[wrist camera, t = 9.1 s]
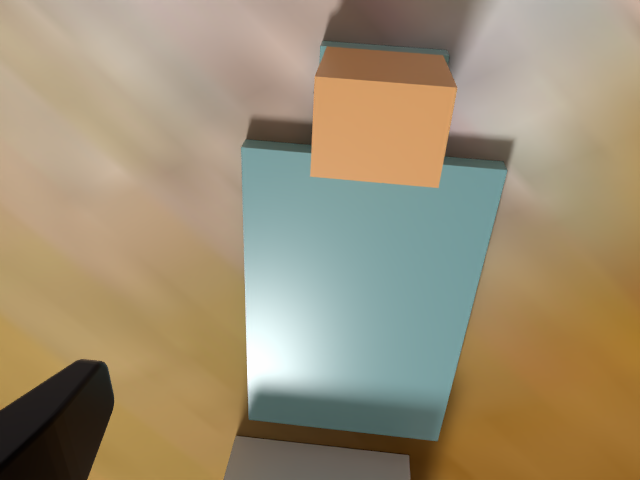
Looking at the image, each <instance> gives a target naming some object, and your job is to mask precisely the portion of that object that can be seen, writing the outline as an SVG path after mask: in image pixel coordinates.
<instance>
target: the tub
mask: <svg viewBox="0 0 640 480" xmlns="http://www.w3.org/2000/svg"><path fill="white" fill-rule="evenodd" d="M224 480H410V463H409V455H403V454H394V453H385V452H376V451H367V450H358V449H349V448H340V447H331V446H322V445H313V444H304V443H295V442H286V441H277V440H268V439H260V438H251V437H242V436H236V437H235V440H234V444H233V447H232V451H231V455H230V458H229V462H228V465H227V469H226V472H225V476H224Z"/></svg>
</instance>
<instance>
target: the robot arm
mask: <svg viewBox="0 0 640 480" xmlns="http://www.w3.org/2000/svg"><path fill="white" fill-rule="evenodd" d="M113 406H114V394H113V389H112V385H111V380H110V375H109V371H108V367H107V365H106V364H105V363H104V362H102V361H96V360H87V359H80V360H77V361H75V362H74V363H72V364H71V365H69V366H67V367H66V368H64V369H63V370H61V371H60V372H58V373H57V374H55V375H54V376H52V377H51V378H49V379H48V380H46V381H44V382H43V383H41V384H40V385H38V386H37V387H35V388H34V389H32V390H31V391H29V392H28V393H26V394H25V395H23V396H21V397H20V398H18V399H17V400H15V401H14V402H12V403H11V404H9V405H8V406H6V407H5V408H3V409H2V410H0V480H87V479H88V476H89V473H90V471H91V468H92V465H93V463H94V460H95V457H96V454H97V452H98V449H99V446H100V444H101V441H102V438H103V435H104V433H105V430H106V427H107V425H108V422H109V419H110V416H111V414H112V411H113Z"/></svg>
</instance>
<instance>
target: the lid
mask: <svg viewBox="0 0 640 480" xmlns="http://www.w3.org/2000/svg"><path fill="white" fill-rule="evenodd" d="M448 62H449V53H448V51H447V50H439V49H426V48H413V47H399V46H386V45H373V44H360V43H346V42H333V41H322V44H321V46H320V65H319V67H318V70H317V72H316V75H315V84H314V105H313V127H312V145H306V144H294V143H283V142H271V141H259V140H248V139H246V140H245V142H244V143H243V145H242V147H241V157H242V193H243V230H244V267H245V303H246V340H247V377H248V414H249V420H256V421H265V422H273V423H282V424H291V425H300V426H308V427H317V428H326V429H335V430H343V431H352V432H361V433H370V434H378V435H387V436H396V437H405V438H414V439H422V440H431V441H438V437H439V434H440V430H441V426H442V422H443V418H444V414H445V410H446V406H447V403H448V399H449V395H450V391H451V387H452V383H453V379H454V375H455V371H456V368H457V364H458V360H459V356H460V352H461V348H462V344H463V340H464V337H465V333H466V329H467V325H468V321H469V317H470V313H471V309H472V306H473V302H474V298H475V294H476V290H477V286H478V282H479V278H480V275H481V271H482V267H483V263H484V259H485V255H486V251H487V247H488V244H489V240H490V236H491V232H492V228H493V224H494V220H495V216H496V213H497V209H498V205H499V201H500V197H501V193H502V189H503V185H504V181H505V178H506V174H507V168H506V166H505V164H504V162H503V161H492V160H480V159H468V158H457V157H445V151H446V145H447V140H448V135H449V129H450V124H451V119H452V113H453V108H454V103H455V97H456V92H457V86H456V83H455V81H454V79H453V77H452V74H451V72H450V70H449V68H448Z"/></svg>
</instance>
